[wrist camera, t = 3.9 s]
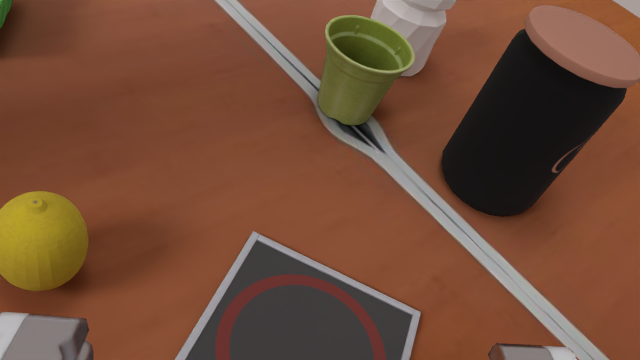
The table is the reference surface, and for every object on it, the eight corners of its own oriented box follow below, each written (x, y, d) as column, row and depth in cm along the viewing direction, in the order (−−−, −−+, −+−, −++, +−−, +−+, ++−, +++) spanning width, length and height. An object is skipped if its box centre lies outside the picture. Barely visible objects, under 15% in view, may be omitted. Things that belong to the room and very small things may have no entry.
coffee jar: (523, 238, 54) (651, 98, 42) (426, 189, 55) (522, 37, 42) (533, 175, 62) (643, 41, 49) (447, 133, 63) (534, -10, 50)
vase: (373, 75, 66) (412, -15, 58) (350, 33, 72) (383, -55, 63) (433, 78, 70) (478, -6, 61) (407, 38, 75) (445, -45, 67)
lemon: (85, 239, 40) (83, 164, 35) (92, 305, 37) (91, 234, 31) (-2, 248, 38) (-19, 170, 32) (-3, 320, 34) (-22, 246, 29)
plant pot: (399, 131, 60) (432, 68, 54) (327, 143, 55) (355, 74, 49) (357, 78, 65) (384, 14, 59) (288, 84, 60) (309, 15, 54)
